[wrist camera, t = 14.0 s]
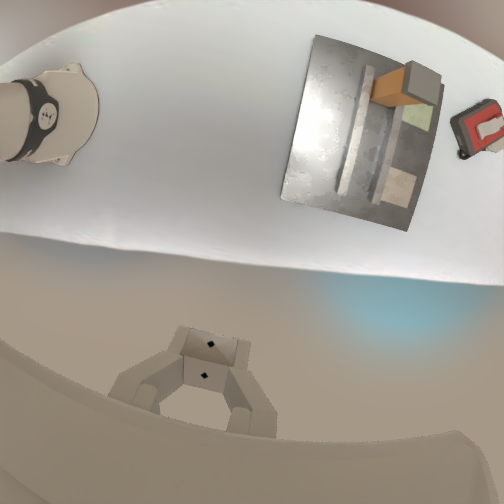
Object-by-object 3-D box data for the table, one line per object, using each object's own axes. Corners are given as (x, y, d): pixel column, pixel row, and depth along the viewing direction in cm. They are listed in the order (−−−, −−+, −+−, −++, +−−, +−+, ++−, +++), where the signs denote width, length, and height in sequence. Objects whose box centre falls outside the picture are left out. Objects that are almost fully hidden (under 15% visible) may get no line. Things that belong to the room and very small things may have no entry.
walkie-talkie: (460, 169, 34) (521, 130, 28) (475, 175, 30) (535, 134, 24) (441, 120, 32) (506, 87, 25) (457, 121, 28) (521, 87, 21)
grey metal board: (280, 195, 39) (280, 203, 36) (313, 38, 29) (317, 29, 25) (402, 227, 39) (412, 236, 36) (438, 85, 29) (451, 84, 25)
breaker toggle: (366, 100, 30) (407, 91, 19) (371, 78, 29) (412, 60, 17) (389, 109, 30) (437, 105, 19) (393, 87, 29) (441, 75, 17)
